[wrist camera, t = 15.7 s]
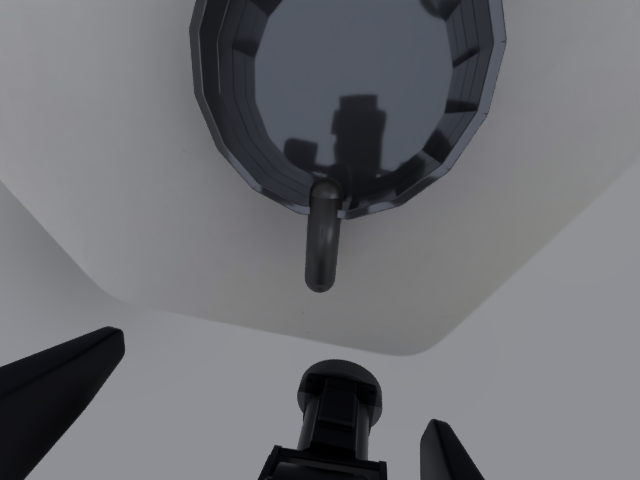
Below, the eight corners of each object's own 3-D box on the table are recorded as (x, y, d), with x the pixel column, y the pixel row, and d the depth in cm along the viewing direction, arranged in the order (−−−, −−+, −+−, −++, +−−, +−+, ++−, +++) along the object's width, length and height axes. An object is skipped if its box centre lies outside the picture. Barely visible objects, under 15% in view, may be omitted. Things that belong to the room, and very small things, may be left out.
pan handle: (335, 284, 19) (331, 300, 17) (307, 280, 19) (300, 296, 18) (346, 176, 16) (343, 182, 15) (313, 172, 17) (306, 178, 15)
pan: (442, 210, 19) (457, 232, 15) (233, 187, 21) (203, 202, 17) (508, -82, 14) (558, -155, 10) (222, -78, 15) (174, -139, 12)
